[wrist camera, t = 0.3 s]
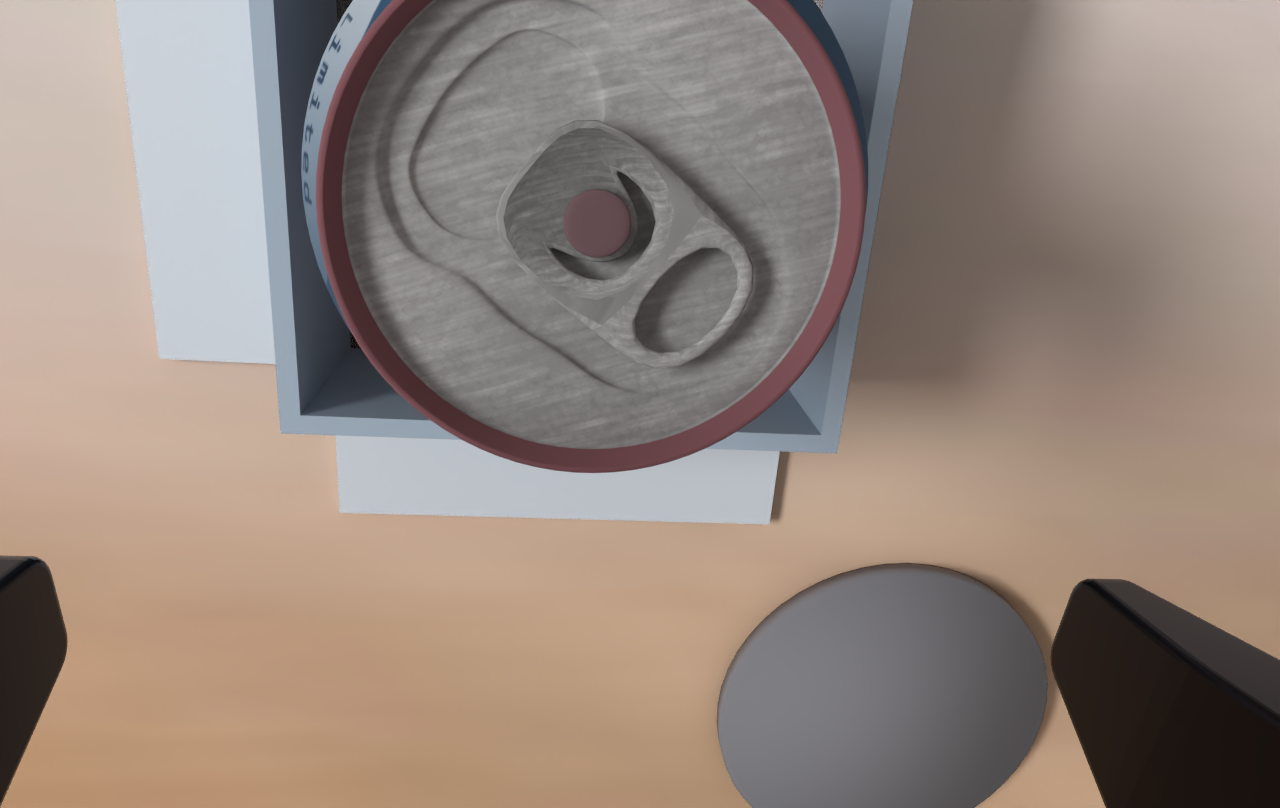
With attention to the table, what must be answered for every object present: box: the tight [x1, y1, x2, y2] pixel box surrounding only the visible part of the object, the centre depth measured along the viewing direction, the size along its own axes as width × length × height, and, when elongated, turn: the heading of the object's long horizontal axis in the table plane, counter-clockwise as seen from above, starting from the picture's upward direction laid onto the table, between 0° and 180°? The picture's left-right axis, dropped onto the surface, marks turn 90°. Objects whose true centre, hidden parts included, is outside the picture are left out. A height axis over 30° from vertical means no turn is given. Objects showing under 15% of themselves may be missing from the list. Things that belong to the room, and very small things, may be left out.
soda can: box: [301, 0, 868, 473], centre depth 15 cm, size 7×7×12 cm
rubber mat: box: [717, 563, 1047, 808], centre depth 27 cm, size 10×10×1 cm
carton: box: [115, 0, 913, 524], centre depth 19 cm, size 15×15×4 cm
